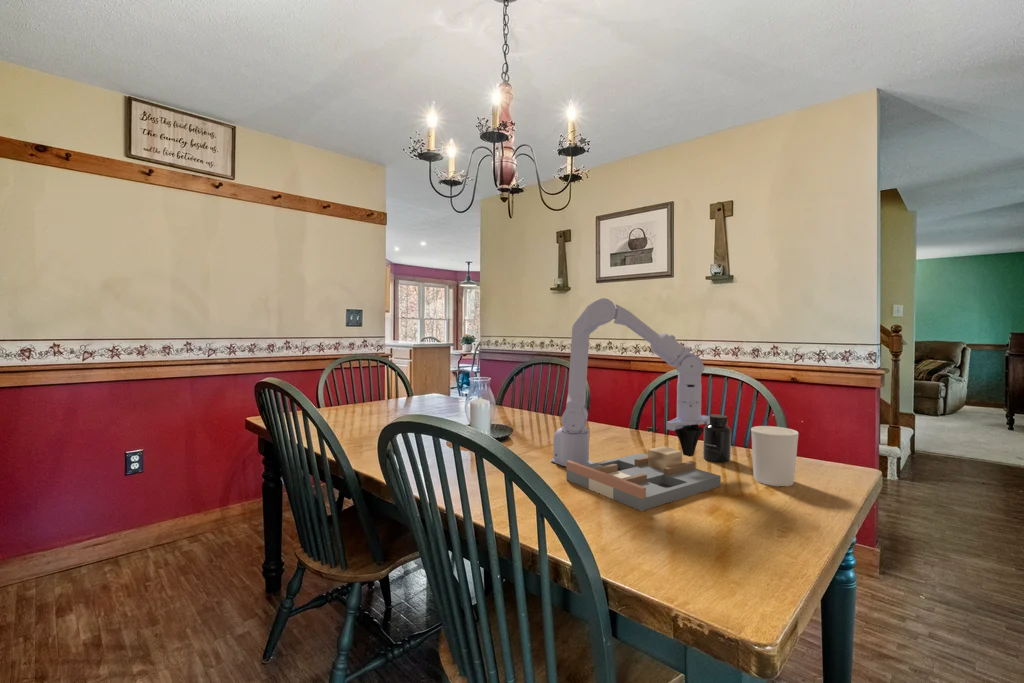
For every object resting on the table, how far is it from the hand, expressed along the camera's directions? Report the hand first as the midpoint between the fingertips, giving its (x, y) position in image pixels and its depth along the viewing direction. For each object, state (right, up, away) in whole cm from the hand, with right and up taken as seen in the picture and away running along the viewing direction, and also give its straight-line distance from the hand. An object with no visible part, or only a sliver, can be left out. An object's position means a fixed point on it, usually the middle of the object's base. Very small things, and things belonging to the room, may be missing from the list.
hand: (688, 455), depth 121 cm
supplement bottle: (+11, -4, +10) cm, 16 cm away
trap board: (-14, -4, -9) cm, 17 cm away
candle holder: (+17, -4, -8) cm, 19 cm away
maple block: (-8, -2, -5) cm, 9 cm away
